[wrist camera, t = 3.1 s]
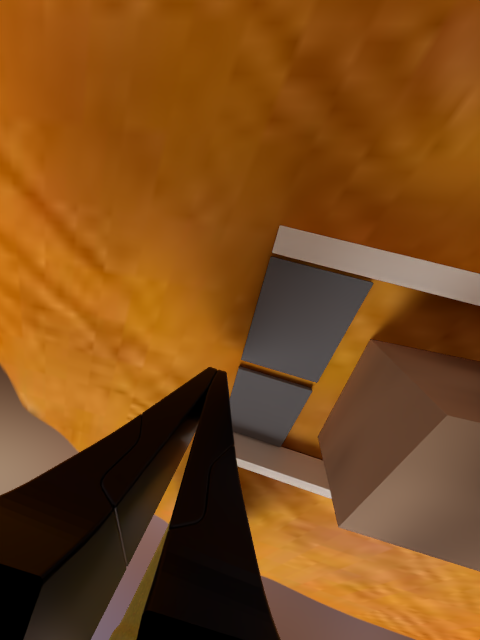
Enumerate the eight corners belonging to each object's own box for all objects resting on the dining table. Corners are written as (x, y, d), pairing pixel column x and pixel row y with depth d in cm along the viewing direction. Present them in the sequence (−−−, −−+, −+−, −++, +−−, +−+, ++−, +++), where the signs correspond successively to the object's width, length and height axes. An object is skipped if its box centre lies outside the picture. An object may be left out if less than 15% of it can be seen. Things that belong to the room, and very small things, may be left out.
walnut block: (545, 372, 7) (819, 503, 4) (439, 465, 10) (530, 587, 7) (367, 336, 8) (447, 415, 4) (316, 432, 11) (338, 527, 7)
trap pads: (370, 281, 7) (373, 283, 7) (280, 444, 11) (280, 447, 11) (270, 256, 7) (270, 256, 7) (222, 425, 12) (221, 427, 12)
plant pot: (163, 512, 20) (89, 691, 12) (166, 469, 16) (56, 698, 8) (243, 542, 19) (222, 753, 11) (267, 505, 15) (261, 795, 7)
